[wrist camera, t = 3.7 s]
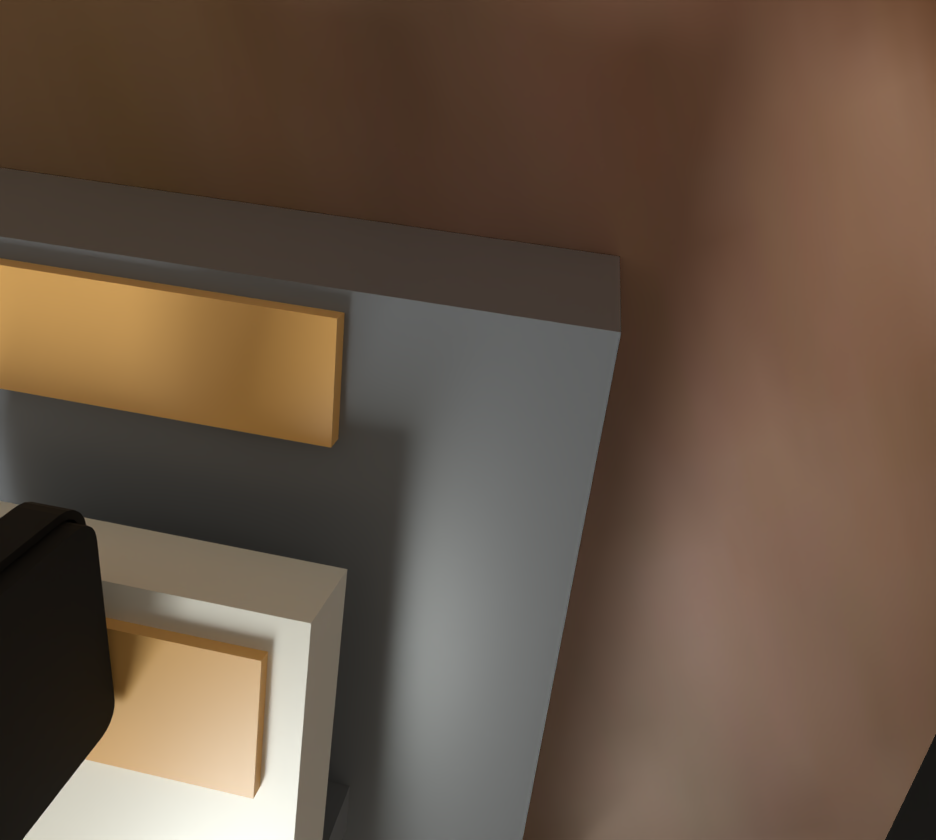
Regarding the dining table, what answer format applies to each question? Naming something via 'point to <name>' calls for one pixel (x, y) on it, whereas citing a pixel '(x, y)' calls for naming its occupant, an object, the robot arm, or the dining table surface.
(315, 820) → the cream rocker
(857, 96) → the dining table surface
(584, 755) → the dining table surface
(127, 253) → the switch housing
